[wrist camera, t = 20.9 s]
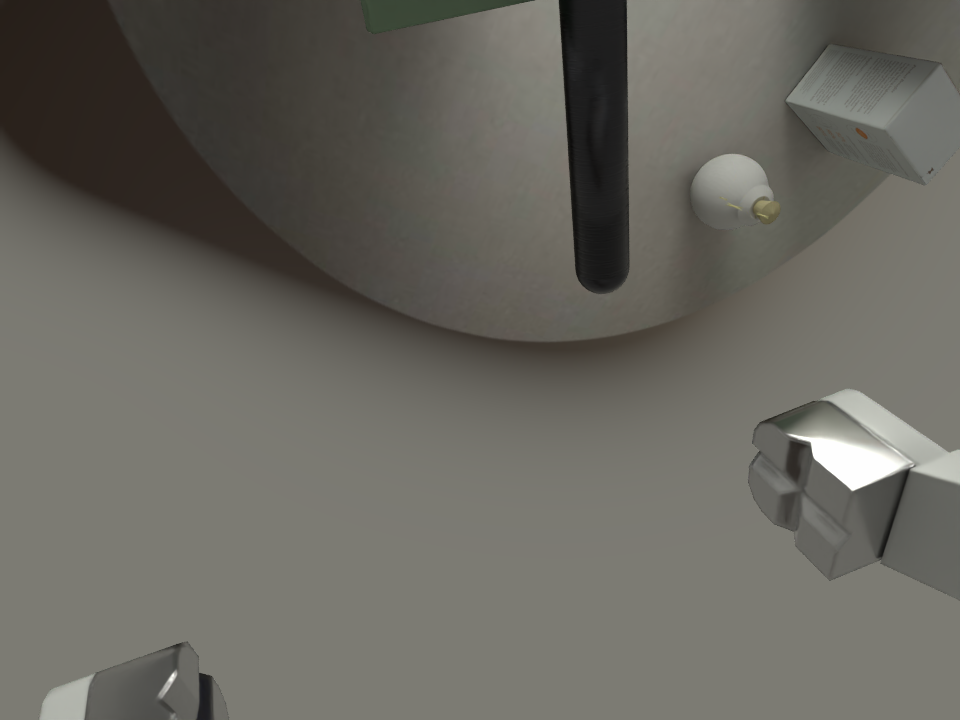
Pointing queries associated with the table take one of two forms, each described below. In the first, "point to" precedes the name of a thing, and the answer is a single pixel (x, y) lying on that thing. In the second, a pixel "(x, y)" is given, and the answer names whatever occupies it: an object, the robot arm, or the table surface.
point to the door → (571, 119)
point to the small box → (881, 110)
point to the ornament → (733, 193)
